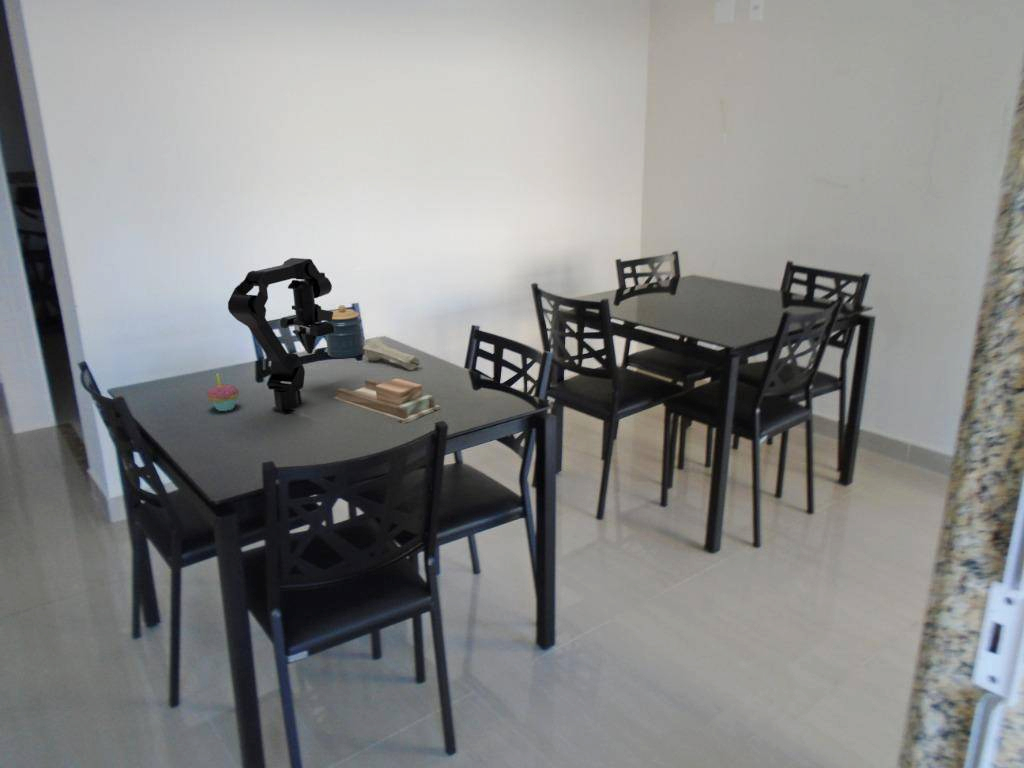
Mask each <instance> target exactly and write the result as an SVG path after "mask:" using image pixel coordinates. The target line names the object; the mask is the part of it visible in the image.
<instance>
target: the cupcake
mask: <svg viewBox="0 0 1024 768" xmlns="http://www.w3.org/2000/svg"><path fill="white" fill-rule="evenodd" d="M215 375H216V378H217V379H216V380H217V385H216V386H213V387H212V388H210V389H209V390H208V392H207V399H208V401H209V402H211V403H212V404H213V406H214V408H215V409H217V410H219V411H225V410H230V411H232V410H234V409H235V404H236V401H237V399H238V397H239V395H240V393H239V390H238V388H237V387H236V386H233V385H230V384H224V383H223V384H222V383H221V379H220V375H219V372H216V374H215ZM233 408H234V409H233ZM231 409H232V410H231ZM217 410H216V411H217ZM219 411H218V412H219Z"/></svg>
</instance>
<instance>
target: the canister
mask: <svg viewBox="0 0 1024 768" xmlns="http://www.w3.org/2000/svg"><path fill="white" fill-rule="evenodd" d="M331 311H332V312H333V317H332V322H329V321H324V322H328V323H332V324H333V325H334V327H335V333H331V334H327V335H325V337H326V339H325V340H326V352H327V355H328V356H329V357H330V358H334V359H350V358H355V357H356V358H357V357H359V356H361V355H363V354H364V352H365V350H364V349H363V347H364V346H365V345H364V339H363V337H364V336H363V328H362V325H361V323H362V322H363V320H362V318H360V317H359V315H360V313H359V312H357V311H355V309H350V308H346V306H345V305H343V304H341V305H339V306H338V307H337V309H334V310H331Z"/></svg>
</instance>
